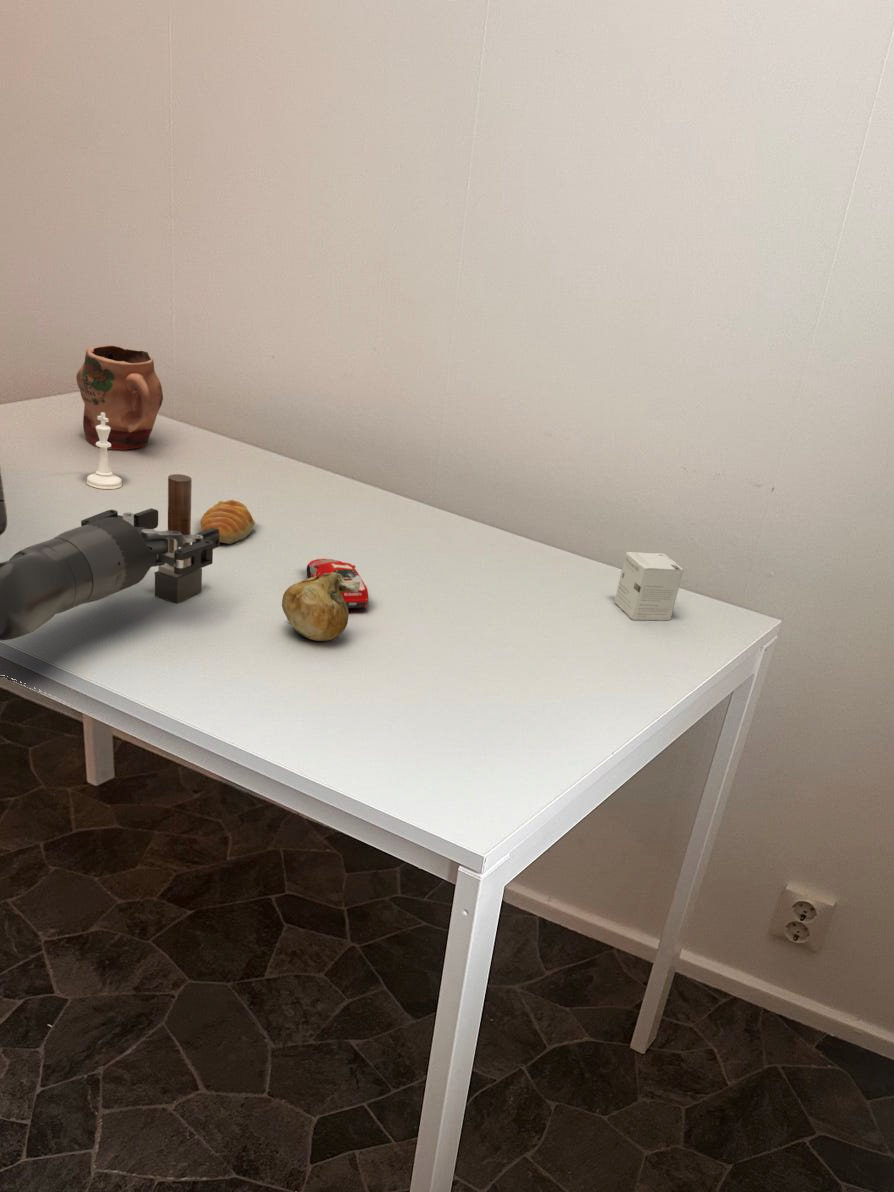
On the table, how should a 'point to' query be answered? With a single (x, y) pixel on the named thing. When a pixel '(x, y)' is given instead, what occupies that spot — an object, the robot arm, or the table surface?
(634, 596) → the product carton
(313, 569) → the race car
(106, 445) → the chess piece
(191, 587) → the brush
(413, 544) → the table surface
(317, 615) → the onion
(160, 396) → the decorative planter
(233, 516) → the pastry
